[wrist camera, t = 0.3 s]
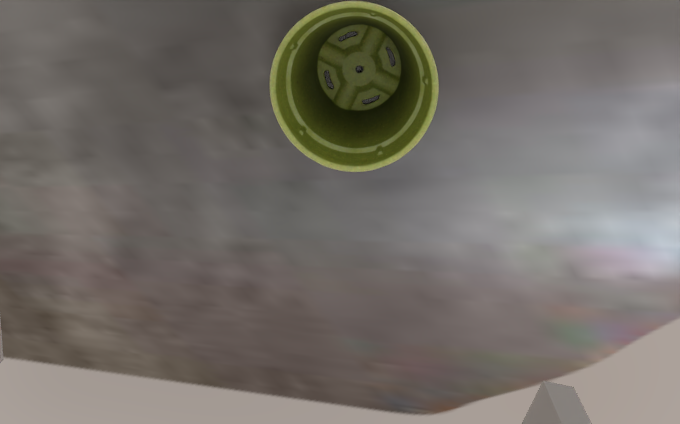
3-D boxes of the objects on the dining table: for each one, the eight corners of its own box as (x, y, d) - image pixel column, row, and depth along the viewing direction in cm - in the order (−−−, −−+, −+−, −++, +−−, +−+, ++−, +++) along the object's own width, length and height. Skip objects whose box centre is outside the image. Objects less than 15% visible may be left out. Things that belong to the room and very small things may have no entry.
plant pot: (324, 151, 39) (311, 194, 31) (270, 30, 36) (240, 43, 28) (442, 105, 37) (460, 138, 30) (397, -27, 34) (403, -31, 26)
